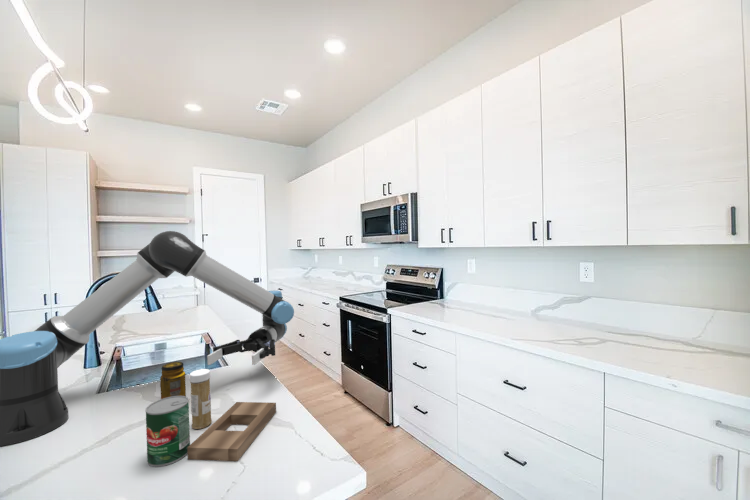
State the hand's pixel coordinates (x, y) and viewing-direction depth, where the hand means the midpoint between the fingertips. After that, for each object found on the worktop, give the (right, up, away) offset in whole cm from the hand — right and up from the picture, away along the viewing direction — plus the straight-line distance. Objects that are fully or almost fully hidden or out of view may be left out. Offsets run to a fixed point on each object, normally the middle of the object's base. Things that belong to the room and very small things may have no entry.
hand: (230, 360), depth 95 cm
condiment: (-15, -12, -4) cm, 20 cm away
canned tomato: (-2, -12, -25) cm, 28 cm away
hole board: (+9, -12, -17) cm, 22 cm away
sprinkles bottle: (-2, -12, -13) cm, 18 cm away
